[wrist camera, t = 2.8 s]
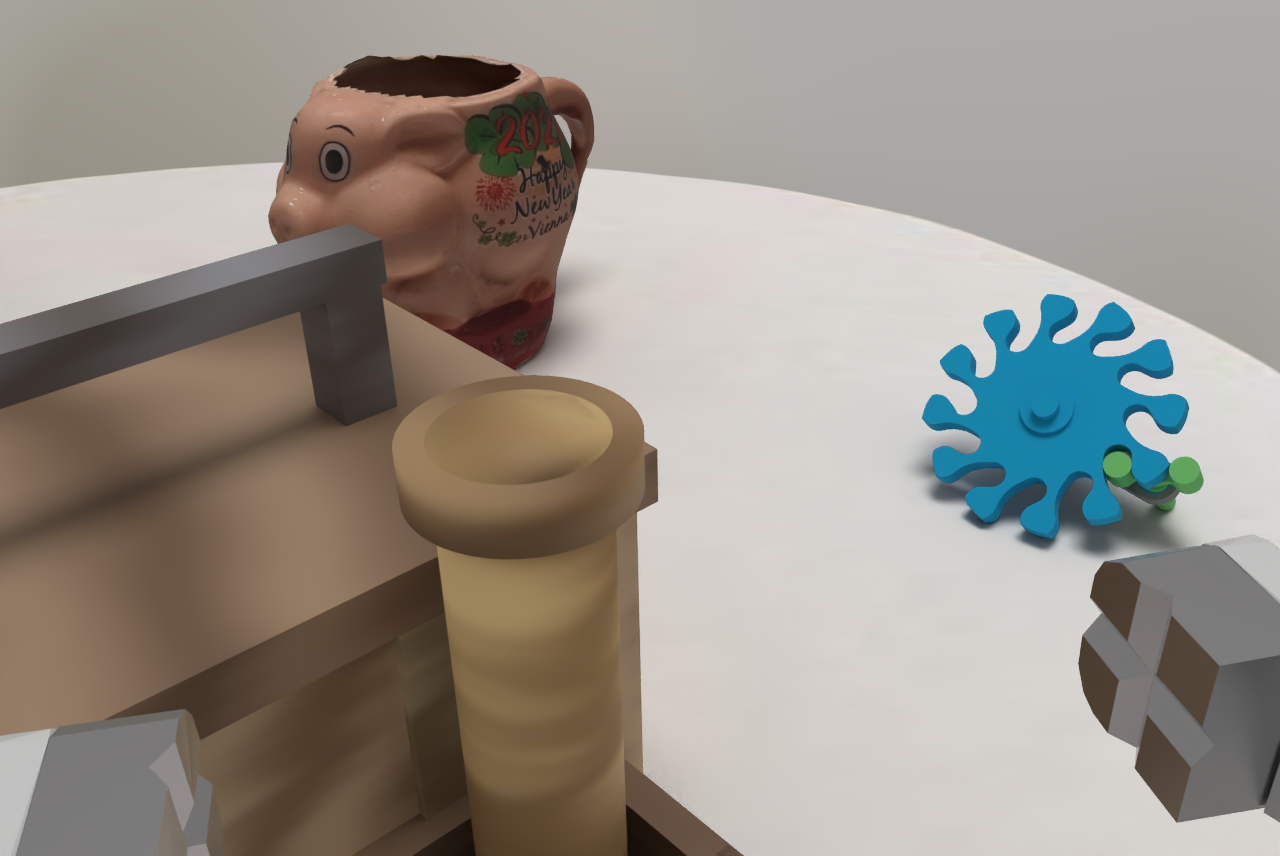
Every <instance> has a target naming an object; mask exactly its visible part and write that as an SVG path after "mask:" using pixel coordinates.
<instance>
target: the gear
mask: <svg viewBox="0 0 1280 856" xmlns="http://www.w3.org/2000/svg"><path fill="white" fill-rule="evenodd" d="M1040 308H1041V324H1040V328H1039V330H1038V333H1037V334H1036V336H1035V338H1034V339H1033V341H1032V342H1031V343H1030V345H1029V346H1028V347H1027V348H1026V349H1025V350H1023V351H1021V352H1012V351H1010V345H1011V343H1012V342H1013V341H1014V339H1015V338H1016V336H1017V335H1018V333H1019V331H1020V323H1019V321H1018V319H1017V317H1016V315H1015V314H1014V312H1013V311H1012V310H1002V311H998V312H994V313H991V314H989V315H986V316H985V318H984V322H983V324H984V328H985V329H986V331H987V333H988V334H989V336H990V338H991V339H992V340H993V341H994V343H995V346H996V351H997V352H996V366H995V370H994V372H993V373H992V374H991V375H990V376H988V377H985V378H978V377H976V376H975V373H976V360H975V358H974V356H973V355H972V353H971V352H970V350H969V349H968V348H967V347H966V346H964V345H962V344H960V345H958V346H956V347H955V348H953V349H952V350H950V351H949V352H948V353H947V354H946V355H945V356H944V357H943V358H942V359H941V360H940V364H941V366H942V368H943V369H944V371H945V372H946V373H947V375H948V376H949V377H950V378H952V379H954V380H958V381H960V382H962V383H964V384H966V385H967V386H969V387H970V388H971V389H972V390H973V392H974V394H975V396H976V398H977V406H976V409H975V410H974V411H973V412H972V413H970V414H967V415H959V414H957V412H956V410H955V408H954V407H953V405H952V404H951V403H950V401H949V400H948V399H947V398H946V397H944V396H943V395H937V394H936V395H932V396H931V398H930V399H929V401H928V402H927V404H926V407H925V409H924V413H923V416H922V419H923V420H924V422H925V423H926V424H927V425H928V426H929V427H930V428H931V429H933V430H936V431H942V430H947V429H958V430H963V431H967V432H969V433H971V434H973V435H975V436H977V437H978V438H980V439H981V444H980V447H979V449H978V450H977V451H976V452H974V453H973V454H969V455H965V454H962V453H960V452H958V451H957V450H955V449H953V448H951V447H948V446H942V447H939V448H937V449H935V450H934V451H933V466H934V470H935V473H936V476H937V477H938V478H939V479H940V480H941V481H942V482H945V483H951V482H955V481H957V480H958V479H959V478H961V477H962V476H963V475H965V474H967V473H969V472H971V471H974V470H977V469H982V468H1000V469H1004V470H1005V471H1006V477H1005V479H1004V481H1003V482H1002V483H1001V484H1000V485H998V486H995V487H976V488H973V489H971V490H970V491H969V492H968V493H967V494H966V496H965V500H966V502H967V504H968V505H969V507H970V508H971V509H972V510H973V511H974V513H975V514H976V515H977V516H978V517H979V518H980V519H981V520H982V521H984V522H985V523H992V522H994V521H995V520H996V519H997V518H998V517H999V516H1000V514H1001V512H1002V509H1003V508H1004V506H1005V504H1006V503H1007V502H1008V501H1009V499H1010V498H1011V497H1012V496H1014V495H1015V494H1016V493H1017V492H1019V491H1021V490H1023V489H1024V488H1027V487H1029V486H1031V485H1033V484H1038V483H1039V484H1044V485H1046V486H1047V492H1046V495H1045V497H1044V498H1043V499H1042V500H1040V501H1039V502H1036V503H1034V504H1032V505H1030V506H1028V507H1027V508H1026V509H1025V510H1024V511H1023V512H1022V514H1021V518H1020V524H1021V525H1022V526H1023V527H1024V529H1025V530H1027V531H1028V532H1030V533H1032V534H1034V535H1036V536H1040V537H1044V538H1049V539H1052V538H1054V537H1055V536H1056V534H1057V533H1058V530H1059V518H1058V511H1059V506H1060V502H1061V500H1062V497H1063V495H1064V494H1065V492H1066V491H1067V489H1068V488H1069V486H1070V485H1071V484H1072V483H1073V481H1075V480H1076V479H1078V478H1082V477H1085V478H1090V479H1091V480H1093V488H1092V490H1091V492H1090V493H1089V494H1088V496H1087V497H1086V498H1085V500H1084V502H1083V505H1082V510H1083V514H1084V516H1085V518H1086V519H1087V521H1088V522H1089V523H1090V525H1106V524H1111V523H1114V522H1117V521H1120V520H1121V518H1122V508H1121V506H1120V504H1119V503H1118V501H1117V499H1116V498H1115V496H1114V495H1113V494H1112V493H1111V492H1110V490H1109V488H1108V485H1107V480H1109V481H1110V482H1111V483H1112V484H1113V485H1114V486H1116V487H1120V488H1122V489H1124V490H1126V491H1128V492H1129V493H1131V494H1133V495H1135V496H1136V497H1138V498H1140V499H1141V500H1143V501H1145V502H1147V503H1149V504H1153V505H1157V507H1158V508H1159V509H1162V510H1171V509H1172V508H1173V507H1174V506H1175V503H1176V501H1175V498H1176V496H1177V495H1178V494H1179V492H1181V493H1184V494H1192V493H1195V492H1197V491H1198V490H1200V488H1201V487H1202V485H1203V476H1202V473H1201V470H1200V467H1199V465H1198V463H1197V462H1196V461H1195V460H1194V459H1192V458H1189V457H1180V458H1177V459H1175V460H1174V461H1173V462H1172V463H1171V464H1170V463H1169V462H1168V460H1167V458H1166V457H1165V456H1164V455H1163V454H1162V453H1160V452H1157V451H1154V450H1151V449H1149V448H1146V447H1144V446H1143V445H1141V444H1140V443H1138V442H1137V441H1136V440H1135V439H1134V438H1133V437H1132V435H1131V434H1130V433H1129V431H1128V429H1127V428H1126V421H1127V418H1128V417H1129V416H1130V415H1131V414H1133V413H1135V412H1146V413H1148V414H1150V415H1151V416H1152V418H1153V419H1154V421H1155V423H1156V424H1157V426H1158V427H1159V428H1160V429H1161V430H1162V431H1164V432H1166V433H1169V434H1178V433H1179V432H1180V431H1181V429H1182V428H1183V426H1184V424H1185V421H1186V419H1187V415H1188V411H1189V406H1188V403H1187V400H1186V399H1185V398H1184V397H1182V396H1180V395H1176V394H1168V395H1163V396H1146V395H1142V394H1138V393H1136V392H1133V391H1131V390H1129V389H1127V388H1125V387H1124V386H1122V385H1121V384H1120V381H1121V379H1122V377H1123V376H1124V375H1125V374H1126V373H1128V372H1131V371H1139V372H1142V373H1144V374H1146V375H1148V376H1150V377H1152V378H1156V379H1163V378H1167V377H1169V376H1171V375H1172V374H1173V361H1172V358H1171V354H1170V351H1169V348H1168V346H1167V343H1166V341H1165V340H1161V339H1157V340H1152V341H1150V342H1148V343H1146V344H1145V345H1144V346H1143V347H1141V348H1140V349H1138V350H1136V351H1134V352H1132V353H1129V354H1126V355H1122V356H1114V357H1099V356H1096V355H1094V354H1093V350H1094V348H1095V347H1096V346H1097V345H1098V344H1099V343H1101V342H1103V341H1117V340H1123V339H1126V338H1127V337H1129V336H1130V335H1131V334H1132V333H1133V332H1134V330H1135V327H1134V324H1133V322H1132V319H1131V317H1130V316H1129V314H1128V313H1127V312H1126V311H1125V310H1124V309H1123V308H1121V307H1120V306H1119V305H1117V304H1116V303H1114V302H1112V303H1109V304H1107V305H1105V306H1104V307H1103V308H1102V309H1101V310H1100V312H1099V314H1098V316H1097V318H1096V320H1095V321H1094V323H1093V324H1092V326H1091V327H1090V328H1089V329H1088V330H1087V331H1086V332H1084V333H1083V334H1082V335H1080V336H1078V337H1077V338H1075V339H1073V340H1071V341H1069V342H1067V343H1065V344H1056V343H1054V342H1052V340H1053V337H1054V335H1055V334H1056V333H1057V332H1058V331H1060V330H1061V329H1063V328H1065V327H1067V326H1069V325H1071V324H1072V323H1073V322H1074V321H1075V319H1076V317H1077V314H1078V309H1077V307H1076V304H1075V302H1074V300H1072V299H1070V298H1068V297H1065V296H1060V295H1052V294H1047V295H1046V296H1045V297H1044V299H1043V300H1042V302H1041V307H1040ZM1106 479H1107V480H1106Z"/></svg>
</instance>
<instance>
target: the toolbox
mask: <svg viewBox="0 0 1280 856" xmlns="http://www.w3.org/2000/svg"><path fill="white" fill-rule="evenodd" d="M385 283H388V282H387V275H386V267H385V260H384V252H383V245H382V239H380V238H378V237H376V236H374V235H372V234H370V233H368V232H366V231H364V230H362V229H360V228H358V227H356V226H354V225H352V224H350V223H349V224H346V225H342V226H339V227H335V228H332V229H329V230H325V231H322V232H318V233H315V234H311V235H308V236H304V237H301V238H297V239H294V240H290V241H287V242H283V243H280V244H276V245H273V246H270V247H266V248H263V249H259V250H256V251H252V252H249V253H245V254H242V255H238V256H235V257H231V258H228V259H224V260H221V261H217V262H214V263H211V264H207V265H204V266H200V267H197V268H193V269H190V270H186V271H183V272H179V273H176V274H172V275H169V276H165V277H162V278H159V279H155V280H152V281H148V282H145V283H141V284H138V285H134V286H131V287H127V288H124V289H120V290H117V291H113V292H110V293H106V294H103V295H100V296H96V297H93V298H89V299H86V300H82V301H79V302H75V303H72V304H68V305H65V306H61V307H58V308H54V309H51V310H47V311H44V312H41V313H37V314H34V315H30V316H27V317H23V318H20V319H16V320H13V321H9V322H6V323H2V324H0V736H2V735H9V734H16V733H23V732H30V731H37V730H44V729H58V727H59V726H66V725H73V724H80V723H87V722H95V721H102V720H109V719H116V718H124V717H131V716H138V715H145V714H152V713H160V712H167V711H174V710H181V709H185V710H187V711H188V712H189V713H191V714H192V716H193V719H194V722H195V726H196V729H197V732H198V735H199V738H200V741H201V744H202V745H201V753H200V761H199V769H198V774H199V775H200V776H202V777H203V778H205V779H206V780H208V781H209V782H211V783H212V784H213V786H214V790H215V794H216V798H217V801H218V805H219V811H220V817H221V823H222V829H223V845H224V856H476V854H475V846H474V838H473V830H472V822H471V814H470V806H469V798H468V791H467V783H466V775H465V767H464V759H463V751H462V743H461V735H460V727H459V719H458V711H457V703H456V695H455V687H454V679H453V671H452V663H451V655H450V647H449V639H448V632H447V624H446V616H445V608H444V600H443V592H442V584H441V576H440V568H439V560H438V552H437V545H435V544H433V543H431V542H429V541H428V540H426V539H425V538H423V537H421V536H420V535H419V534H418V533H417V532H415V531H414V530H413V529H412V528H411V527H410V525H409V524H408V523H407V522H406V520H405V518H404V516H403V514H402V512H401V508H400V503H399V496H398V489H397V482H396V475H395V468H394V460H393V453H392V441H393V438H394V434H395V432H396V430H397V428H398V427H399V425H400V424H401V422H402V421H403V420H404V419H405V418H406V417H407V416H408V415H409V414H410V413H411V412H412V411H413V410H414V409H416V408H417V407H419V406H420V405H421V404H423V403H424V402H426V401H428V400H430V399H432V398H433V397H435V396H437V395H440V394H442V393H444V392H446V391H449V390H452V389H454V388H457V387H460V386H463V385H467V384H471V383H474V382H479V381H483V380H488V379H494V378H501V377H511V376H524V375H522V374H520V373H518V372H516V371H515V370H513V369H511V368H509V367H507V366H506V365H504V364H502V363H500V362H498V361H496V360H495V359H493V358H491V357H489V356H487V355H486V354H484V353H482V352H480V351H478V350H477V349H475V348H473V347H471V346H469V345H467V344H466V343H464V342H462V341H460V340H458V339H457V338H455V337H453V336H451V335H449V334H448V333H446V332H444V331H442V330H440V329H438V328H437V327H435V326H433V325H431V324H429V323H428V322H426V321H424V320H422V319H420V318H419V317H417V316H415V315H413V314H411V313H409V312H408V311H406V310H404V309H402V308H400V307H399V306H397V305H395V304H393V303H391V302H390V301H388V300H386V299H384V298H383V297H382V289H381V285H382V284H385ZM644 456H645V491H644V496H643V499H642V501H641V503H640V505H639V507H638V508H637V510H636V511H635V513H634V514H633V515H632V516H631V517H630V518H629V519H628V520H627V521H626V522H625V523H624V524H623V525H622V526H620V527H619V528H618V529H616V537H617V566H618V595H619V624H620V653H621V682H622V711H623V739H624V768H625V797H626V826H627V855H628V856H743V855H742V854H741V853H740V852H738V851H737V850H736V849H735V848H733V847H732V846H731V845H730V844H729V843H727V842H726V841H725V840H724V839H722V838H721V837H720V836H719V835H718V834H716V833H715V832H714V831H713V830H711V829H710V828H709V827H708V826H706V825H705V824H704V823H703V822H702V821H700V820H699V819H698V818H697V817H695V816H694V815H693V814H692V813H691V812H689V811H688V810H687V809H686V808H684V807H683V806H682V805H681V804H679V803H678V802H677V801H676V800H675V799H673V798H672V797H671V796H670V795H668V794H667V793H666V792H665V791H664V790H662V789H661V788H660V787H659V786H657V785H656V784H655V783H654V782H652V781H651V780H650V779H649V778H648V777H646V776H645V775H644V774H643V755H642V713H641V671H640V629H639V588H638V546H637V512H638V511H640V510H642V509H644V508H646V507H648V506H650V505H652V504H654V503H656V502H657V501H658V469H657V449H656V448H654V447H652V446H651V445H649V444H647V443H645V442H644Z"/></svg>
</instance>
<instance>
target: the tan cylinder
mask: <svg viewBox="0 0 1280 856" xmlns="http://www.w3.org/2000/svg"><path fill="white" fill-rule="evenodd" d="M392 453H393V460H394V468H395V475H396V482H397V489H398V496H399V503H400V508H401V512H402V514H403V516H404V518H405V520H406V522H407V523H408V524H409V525H410V527H411V528H412V529H413V530H414V531H415V532H417V533H418V534H419V535H420V536H421V537H423V538H425V539H426V540H428V541H429V542H431V543H433V544H435V545H437V552H438V560H439V568H440V576H441V584H442V592H443V600H444V608H445V616H446V624H447V632H448V639H449V647H450V655H451V663H452V671H453V679H454V687H455V695H456V703H457V711H458V719H459V727H460V735H461V743H462V751H463V759H464V767H465V775H466V783H467V791H468V798H469V806H470V814H471V822H472V830H473V838H474V846H475V854H476V856H628V855H627V826H626V797H625V768H624V739H623V711H622V682H621V653H620V624H619V595H618V566H617V537H616V529H618V528H619V527H620V526H622V525H623V524H624V523H625V522H626V521H627V520H628V519H629V518H630V517H631V516H632V515H633V514H634V513H635V511H636V510H637V508H638V507H639V505H640V503H641V501H642V499H643V496H644V491H645V456H644V426H643V422H642V419H641V417H640V416H639V414H638V412H637V411H636V410H635V408H634V407H633V406H632V405H631V404H630V403H629V402H627V401H626V400H625V399H624V398H622V397H621V396H619V395H617V394H616V393H614V392H612V391H610V390H608V389H605V388H603V387H600V386H597V385H595V384H592V383H588V382H584V381H580V380H575V379H570V378H564V377H554V376H536V375H532V376H511V377H501V378H494V379H488V380H483V381H479V382H474V383H471V384H467V385H463V386H460V387H457V388H454V389H452V390H449V391H446V392H444V393H442V394H440V395H437V396H435V397H433V398H432V399H430V400H428V401H426V402H424V403H423V404H421V405H420V406H419V407H417V408H416V409H414V410H413V411H412V412H411V413H410V414H409V415H408V416H407V417H406V418H405V419H404V420H403V421H402V422H401V424H400V425H399V427H398V428H397V430H396V432H395V434H394V438H393V441H392Z"/></svg>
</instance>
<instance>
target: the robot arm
mask: <svg viewBox="0 0 1280 856" xmlns="http://www.w3.org/2000/svg"><path fill="white" fill-rule="evenodd" d="M1090 598H1091V599H1092V601H1093V602H1094V604H1095V605H1096V606H1097V608H1098V609H1099V611H1100V612H1101V614H1100V616H1099V617H1098V618H1097V619H1096V620H1095V621H1094V623H1093V624H1092V625H1091V626H1090V627H1089V628H1088V629H1087V631H1086V632H1085V633H1084V634H1083V636H1082V642H1081V649H1080V656H1079V663H1078V664H1079V670H1080V676H1081V681H1082V687H1083V692H1084V694H1085V696H1086V699H1087V701H1088V703H1089V705H1090V707H1091V710H1092V712H1093V714H1094V715H1095V716H1096V718H1097V719H1098V720H1099V722H1100V723H1101V724H1102V726H1103V727H1104V729H1105V730H1106V731H1107V733H1109V734H1111V735H1113V736H1115V737H1117V738H1119V739H1121V740H1123V741H1125V742H1126V743H1128V744H1130V745H1132V746H1134V747H1136V748H1137V749H1136V759H1135V769H1136V771H1137V772H1138V773H1139V774H1140V776H1141V777H1142V778H1143V780H1144V781H1145V782H1146V783H1147V785H1148V786H1149V787H1150V789H1151V790H1152V791H1153V793H1154V794H1155V795H1156V796H1157V798H1158V799H1159V800H1160V802H1161V803H1162V804H1163V805H1164V807H1165V808H1166V809H1167V811H1168V812H1169V813H1170V814H1171V816H1172V817H1173V818H1174V820H1175V821H1176V822H1177V823H1178V822H1184V821H1189V820H1195V819H1201V818H1207V817H1213V816H1219V815H1225V814H1230V813H1236V812H1242V811H1248V810H1254V809H1260V808H1265V810H1264V813H1266V814H1267V815H1269V816H1270V817H1272V818H1274V819H1275V820H1277V821H1278V822H1280V549H1278V548H1277V547H1276V546H1275V545H1274V544H1273V543H1271V542H1270V541H1268V540H1266V539H1263V538H1260V537H1258V536H1255V535H1249V536H1243V537H1238V538H1232V539H1227V540H1221V541H1216V542H1211V543H1205V544H1203V545H1201V546H1194V547H1188V548H1182V549H1176V550H1170V551H1164V552H1158V553H1152V554H1146V555H1141V556H1135V557H1129V558H1123V559H1117V560H1111V561H1105V562H1104V563H1103V564H1102V565H1101V567H1100V568H1099V570H1098V571H1097V573H1096V574H1095V577H1094V581H1093V586H1092V591H1091V595H1090ZM201 745H202V744H201V741H200V738H199V735H198V732H197V729H196V726H195V722H194V719H193V716H192V714H191V713H189V712H188V711H187V710H185V709H181V710H174V711H167V712H160V713H152V714H145V715H138V716H131V717H124V718H116V719H109V720H102V721H95V722H87V723H80V724H73V725H66V726H59V727H58V729H44V730H37V731H30V732H23V733H16V734H9V735H2V736H0V856H224V845H223V829H222V823H221V817H220V811H219V805H218V801H217V798H216V794H215V790H214V786H213V784H212V783H211V782H209V781H208V780H206V779H205V778H203V777H202V776H200V775H199V774H198V769H199V761H200V753H201Z"/></svg>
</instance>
